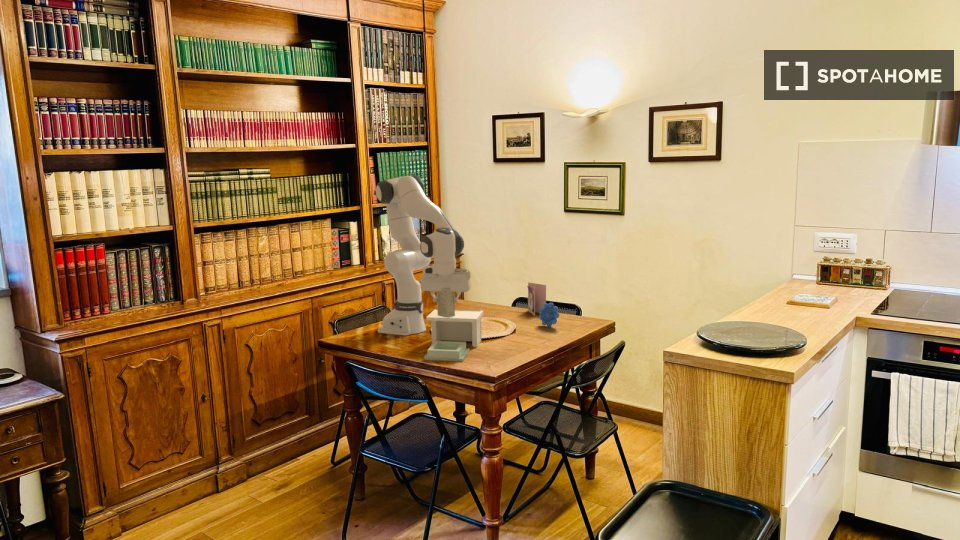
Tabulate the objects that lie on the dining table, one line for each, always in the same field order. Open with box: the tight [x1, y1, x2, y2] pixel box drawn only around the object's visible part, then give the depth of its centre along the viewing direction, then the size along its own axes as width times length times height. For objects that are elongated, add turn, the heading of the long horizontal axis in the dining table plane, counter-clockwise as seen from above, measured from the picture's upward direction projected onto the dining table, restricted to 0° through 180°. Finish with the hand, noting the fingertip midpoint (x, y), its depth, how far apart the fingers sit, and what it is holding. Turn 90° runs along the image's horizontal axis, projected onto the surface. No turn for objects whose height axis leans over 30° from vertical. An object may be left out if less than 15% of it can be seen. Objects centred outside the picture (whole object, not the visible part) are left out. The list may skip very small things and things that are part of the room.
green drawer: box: [423, 340, 470, 362], centre depth 283 cm, size 16×14×4 cm
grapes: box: [538, 302, 560, 328], centre depth 324 cm, size 12×7×12 cm, turn 47°
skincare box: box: [436, 288, 456, 318], centre depth 279 cm, size 6×4×12 cm
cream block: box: [425, 308, 484, 348], centre depth 298 cm, size 22×14×14 cm, turn 79°
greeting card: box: [526, 282, 547, 317], centre depth 349 cm, size 11×7×15 cm, turn 13°
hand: (445, 301), depth 279 cm, fingers closed on skincare box, 7 cm apart
